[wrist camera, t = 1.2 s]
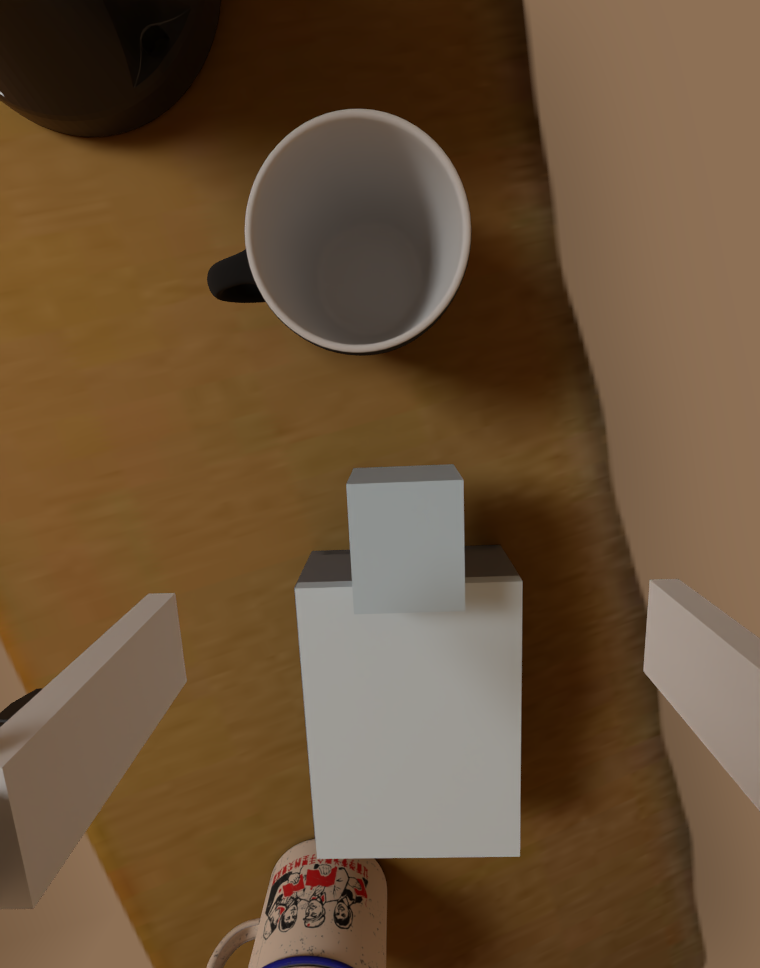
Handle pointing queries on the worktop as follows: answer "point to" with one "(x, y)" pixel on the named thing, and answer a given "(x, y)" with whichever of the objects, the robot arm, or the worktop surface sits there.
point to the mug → (352, 233)
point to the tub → (339, 569)
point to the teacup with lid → (316, 915)
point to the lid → (412, 681)
